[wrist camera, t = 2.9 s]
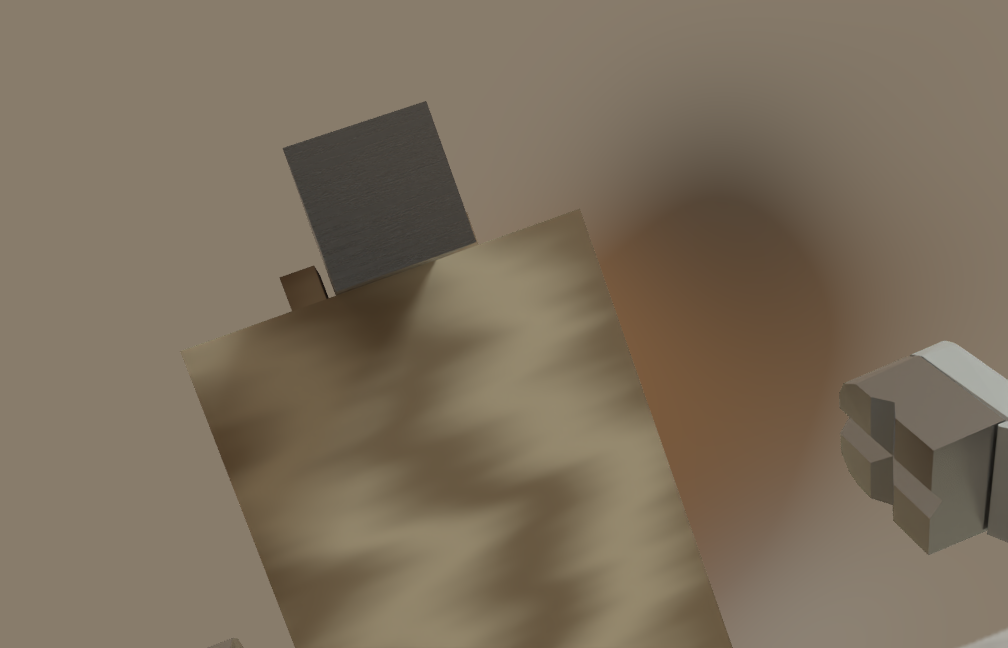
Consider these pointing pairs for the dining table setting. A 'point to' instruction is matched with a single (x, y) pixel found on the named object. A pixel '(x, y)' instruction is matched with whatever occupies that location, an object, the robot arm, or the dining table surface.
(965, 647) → the dining table surface
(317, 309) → the maple stand
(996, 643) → the dining table surface
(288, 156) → the steel block
